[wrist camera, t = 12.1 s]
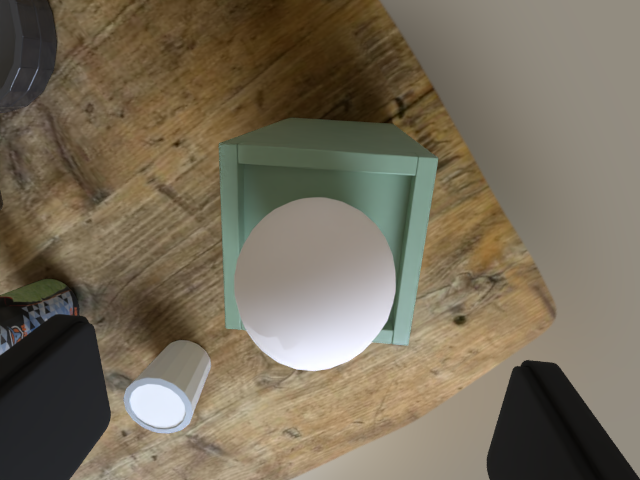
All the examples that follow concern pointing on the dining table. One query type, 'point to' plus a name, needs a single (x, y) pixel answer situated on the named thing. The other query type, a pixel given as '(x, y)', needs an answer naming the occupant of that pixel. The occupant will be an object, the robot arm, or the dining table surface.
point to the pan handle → (1, 201)
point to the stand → (331, 193)
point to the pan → (25, 51)
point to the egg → (314, 283)
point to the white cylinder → (169, 388)
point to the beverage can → (33, 309)
